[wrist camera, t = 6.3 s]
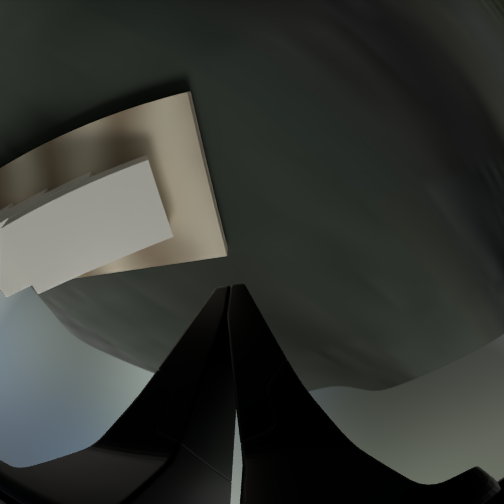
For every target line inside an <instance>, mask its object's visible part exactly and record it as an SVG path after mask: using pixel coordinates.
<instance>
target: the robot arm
mask: <svg viewBox="0 0 504 504" xmlns="http://www.w3.org/2000/svg"><path fill="white" fill-rule="evenodd" d="M236 410H237V418H238V426H239V435H240V442H241V450H242V462H243V463H242V464H243V467H242V482H241V495H240V504H504V478H502V479H501V480H499V481H496V480H494V478H493V477H491V476H490V475H489V474H487V473H486V472H485V471H484V470H482V469H481V468H480V467H477V466H476V467H473V468H471V469H469V470H467V471H465V472H463V473H461V474H459V475H457V476H455V477H453V478H451V479H449V480H447V481H444V482H442V483H438V484H431V485H426V484H420V483H417V482H414V481H412V480H410V479H408V478H406V477H405V476H403V475H401V474H399V473H398V472H396V471H394V470H393V469H391V468H389V467H388V466H386V465H384V464H383V463H381V462H380V461H378V460H376V459H375V458H373V457H372V456H370V455H368V454H367V453H365V452H364V451H362V450H361V449H359V448H358V447H357V446H356V445H355V444H353V443H352V442H351V441H350V440H349V439H348V438H347V437H346V436H345V435H344V434H343V433H342V432H341V431H340V429H339V428H338V427H337V426H336V425H335V424H334V422H333V421H332V420H331V419H330V418H329V417H328V416H327V414H326V413H325V412H324V411H323V410H322V408H321V407H320V406H319V405H318V404H317V402H316V401H315V400H314V399H313V397H312V396H311V395H310V394H309V392H308V391H307V390H306V388H305V387H304V386H303V384H302V383H301V381H300V380H299V378H298V376H297V375H296V373H295V372H294V370H293V368H292V367H291V365H290V363H289V362H288V361H287V358H286V357H285V355H284V353H283V351H282V350H281V348H280V346H279V344H278V343H277V341H276V339H275V337H274V336H273V334H272V332H271V330H270V329H269V327H268V325H267V323H266V321H265V320H264V318H263V316H262V314H261V313H260V311H259V309H258V307H257V305H256V304H255V302H254V300H253V298H252V296H251V295H250V293H249V291H248V289H247V287H246V286H245V284H237V285H232V286H231V287H230V286H222V287H217V288H216V289H215V290H214V292H213V293H212V294H211V296H210V297H209V298H208V300H207V301H206V303H205V304H204V305H203V307H202V308H201V310H200V311H199V312H198V314H197V315H196V317H195V318H194V319H193V321H192V322H191V324H190V325H189V326H188V328H187V329H186V331H185V332H184V333H183V335H182V336H181V338H180V339H179V340H178V342H177V343H176V345H175V346H174V347H173V349H172V350H171V352H170V353H169V354H168V356H167V357H166V359H165V360H164V362H163V363H162V364H161V366H160V367H159V370H157V371H156V373H155V374H154V375H153V377H152V378H151V380H150V381H149V382H148V384H147V385H146V386H145V388H144V389H143V390H142V392H141V393H140V394H139V396H138V397H137V398H136V399H135V400H134V401H133V403H132V404H131V405H130V406H129V407H128V408H127V410H126V411H125V412H124V413H123V414H122V415H121V416H120V417H119V419H118V420H117V421H116V422H115V423H114V424H113V425H112V426H111V428H110V429H109V430H108V431H107V432H106V433H105V434H104V435H103V436H102V437H101V438H100V439H99V440H98V441H97V442H96V443H94V444H93V445H91V446H90V447H88V448H86V449H84V450H81V451H78V452H76V453H72V454H69V455H66V456H63V457H61V458H57V459H54V460H51V461H48V462H45V463H41V464H38V465H34V466H30V467H24V468H16V467H12V466H10V465H8V464H6V463H4V462H3V461H1V460H0V504H230V499H231V481H232V465H233V450H234V435H235V420H236Z"/></svg>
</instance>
